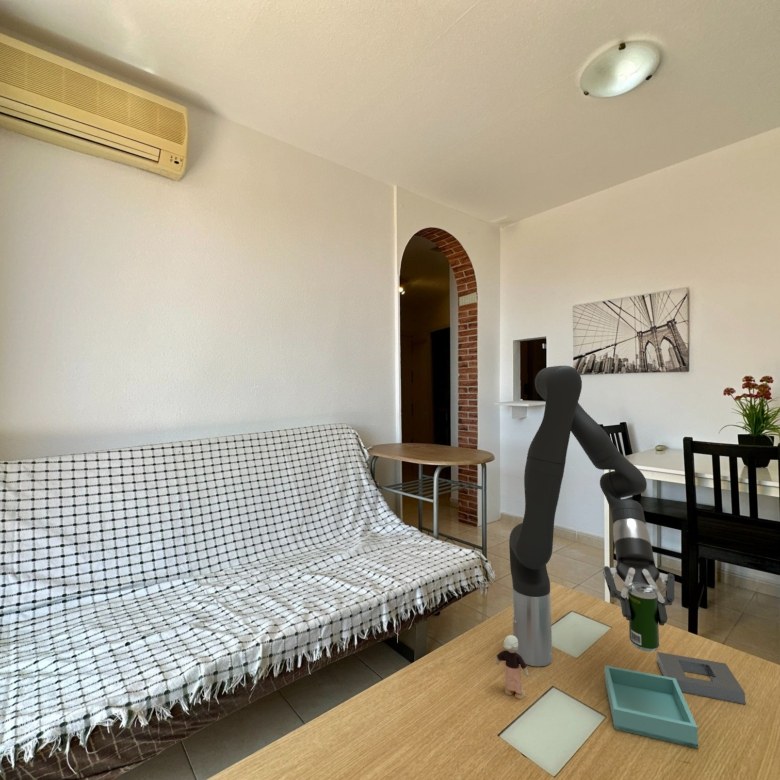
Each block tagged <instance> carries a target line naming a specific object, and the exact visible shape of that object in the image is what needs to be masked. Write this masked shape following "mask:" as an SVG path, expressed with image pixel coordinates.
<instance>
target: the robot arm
mask: <svg viewBox="0 0 780 780" xmlns="http://www.w3.org/2000/svg"><path fill="white" fill-rule="evenodd" d="M582 385H583V381H582V377H581V374H580V373H579V371H578V369H576V368H575V367H573V366H570V365H553V366H547V367H545V368H542V369H541V370H539V371H538V373H537V374H536V376H535V378H534V387H535V390H536V393H537V394H539V396H540V397H541V398H542V399H543V400H544V401H545V405H544V411H543V412H544V413H543V415H542V416H543V417H542V420H541V423H540V425H539V426H538V429H537V431H536V433H535V435H534V436H533V438H532V441H531V442H530V445H529V447H528V450H527V456H526V462H525V466H524V474H523V475H524V477H523V484H524V501H525V502H524V513H523V519H522V522H521V523H519V524H517V525H515V526H514V527H513V528H512V530H511V532H510V533H509V539H508V543H509V546H508V547H509V562H510V563H509V566H510V568H509V569H510V574H511V581H512V582H511V583H512V603H513V604H512V609H513V614H512V615H513V616H512V635H513V636H515V637H516V638H517V639H518V643H519V644H518V649H517V651H516V653H517V654H519V655H520V656H521V657H522V659H523V661H524V662H525V664H526V665H528V666H532V667H545V666H548V665H550V664H551V663H552V661H553V644H552V643H553V639H552V638H553V636H552V608H551V603H552V602H551V581H550V578H549V574H548V569H547V565H548V563H549V561H550V559H551V557H552V555H553V548H554V547H553V546H554V532H555V531H554V529H555V519H556V512H557V507H558V504H559V498H560V493H561V488H562V482H563V478H564V473H565V466H566V460H567V453H568V447H569V443H570V442H569V441H570V437H571V433H572V435H573V436H574V438H575V439H576V441H577V442H578V444H579V445H580V447H581V448H582V450H583V452H584V453H585V454H586V456H587V457H588V459H589V460H590V462H591V463H592V465H593V466H594V467H595V468H596V469H598V470H603V471H606V470H607V472H605V473H603V474H601V476H600V479H599V486H600V489H601V491H602V492H603V493H602V494H603V495H604V496H605V499H606V501H607V505H608V507H609V509H610V511H611V519H612V526H613V527H612V528H613V529H612V535H613V536H612V537H613V543H614V550H615V558H616V565H615V567H610V566H608V565H605V566H604V567H603V570H602V571H603V572H602V573H603V576H604V579H605V583H606V585H607V588H608V592H609V595H610V597H612V598H614V599H615V598H616V599H618V600H619V602H620V607H621V608H620V609H621V614H622V616H623V618H625V620H626V621H628V622H629V621H630V620H631V612H630V605H629V600H628V588H629V584H630V583H634V582H639V583H645V584H648V585H651V586H653V587H654V588H655V589H656V593H657V595H658V622H659V626H665V624H666V623H667V622H668V614H667V608H666V606H672V605H673V603H674V601H675V575H674V574H673V573H667V574H666V573H663V572H660V571H659V570H658V568H657V567H656V563H655V557H654V553H653V547H652V541H651V537H650V533H649V530H648V528H647V527H648V526H647V524H646V523H647V522H646V519H645V518H646V517H645V513H644V509H643V506H642V504H641V503H639V501H637V500H633V499H629V498H628V497H632V496H637V495H640V494H643V493H644V492H645V491H646V490H647V480H646V478H645V476H644V474H643V473H642V472H641V470H640V469H639V468H638V467H637V466H636V465H634V464H633V463H632V462H631V461H630V460H628V458H626V457H625V456H624V455H623V454H622V453H621V452H620V451H619V450H618V447H616V445H615V444H614V443H613V441H612V439H611V438H610V436H609V435H608V432H606V431H605V429H604V428H603V427H602V426H601V425H600V424H599V423H597V421H596V420H595V419H593V417H591V415H590V414H588V413H587V411H585V410H584V408H583V406H582V405H580V403H579V401H580V397H581V393H582V388H583V387H582ZM608 470H612V471H608ZM616 574H617V576H619V578H620V579H621V580H622V581H623V582H624V584H623V586H622V589H621V590H618V588H617V586H616V583H615V580H614V578H616V577H615V576H616ZM659 579H660V580H661V583H662V584H663V585H664V586H665V596H663V595H662V594H661V591H660V589H659V587H658V585H657V584H656V582H657V581H658V580H659Z"/></svg>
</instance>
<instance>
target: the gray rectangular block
mask: <svg viewBox="0 0 780 780" xmlns="http://www.w3.org/2000/svg"><path fill="white" fill-rule="evenodd" d="M656 659H657V661H656V662H657V664H658V668H659V669H660V673H661V676H665V677H671V678H676V680H677V683H678V685H679V687H680V689H681V692H682V693H686V694H690V695H695V696H699V697H700V696H701V697H705V698H711V699H714V700H715V699H716V700H720V701H726V702H731V703H736V704H741V705H746V692H745V691H744V689H743V687H742V686H741V684H740V683H739V681H738V680H737V679H736V677H735V676H734V674H733V671H731V669H730V668H729V666H728V664H727V663H726V662H719V661H714V660H708V659H701V658H696V657H691V656H684V655H678V654H672V653H666V652H662V651H661V652H660V651H656ZM687 672H688V673H693V674H698V675H704V676H708V677H709V678H710V680H708V679H707V680H706V679H701V678H696V677H691V676H687V675H686V674H685V673H687Z"/></svg>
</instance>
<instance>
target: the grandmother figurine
mask: <svg viewBox="0 0 780 780" xmlns="http://www.w3.org/2000/svg"><path fill="white" fill-rule="evenodd" d="M518 644H519V643H518V639H517V638H516V637H515V636H513V634H509V635H507V636H506V637H505V639H504V641H503V643H502V646H503V648H504V649H505V650H501V651H500V652H499V653H498V654H497V655H496V658H495V660H494V663H495V664H496V665H499V664H501V663H500V662H505V664H504V681H505V682H504V683H505V691H504V693H505V695H507V696H513V694H514V697H515V698H516V699H518V700H522V699H523V698H525V697H526V695H527V694H526V691H525V690H524V689H523V682H522V681H523V680H522V672H523V675H524V676H525V677H526V678H528V677H530V673H529V671H528V666H527V664H525V662H524V661H523V659H522V657H521V656H520V655H519V654H517V653H516V651H517V649H518ZM521 670H522V671H521Z"/></svg>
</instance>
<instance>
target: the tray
mask: <svg viewBox="0 0 780 780" xmlns="http://www.w3.org/2000/svg"><path fill="white" fill-rule="evenodd" d="M604 680H605V681H604V683H605V688H606V693H607V698H608V703H609V708H610V712H611V717H612V724H613V728H614V730H617V731H621V732H626V733H629V734H634V735H639V736H642V737H646V738H652V739H655V740H659V741H662V742H663V741H664V742H668V743H672V744H677V745H680V746H685V747H689V748H690V747H691V748H694V749H699V731H698V726H697V723H696V721H695V719H694V716H693V714H692V713H691V709H690V708H689V705H688V703H687V701H686V698H685V696H684V694H683V692H681V689H680V687H679V685H678V683H677V680H676V678H671V677H665V676H663V675H659V674H654V673H649V672H643V671H639V670H638V671H637V670H633V669H627V668H622V667H616V666H611V665H606V664H605V665H604Z"/></svg>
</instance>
